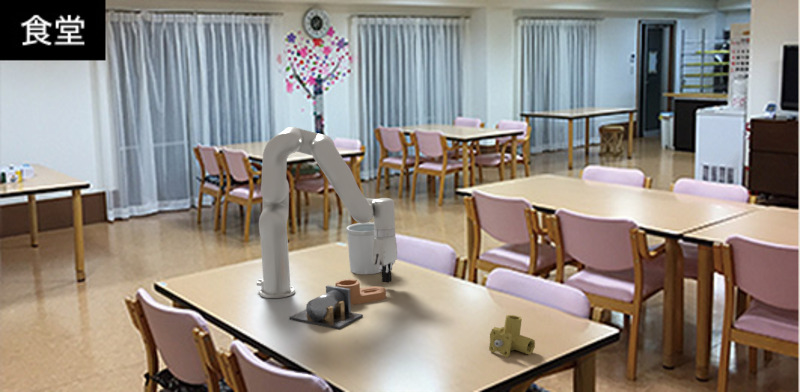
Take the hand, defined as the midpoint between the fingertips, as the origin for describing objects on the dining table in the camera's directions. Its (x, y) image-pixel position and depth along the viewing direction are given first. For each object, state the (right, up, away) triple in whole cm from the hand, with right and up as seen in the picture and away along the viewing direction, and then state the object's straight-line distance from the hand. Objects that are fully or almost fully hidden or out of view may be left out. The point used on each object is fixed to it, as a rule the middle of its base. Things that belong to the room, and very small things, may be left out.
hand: (386, 281), depth 289 cm
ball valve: (+36, -13, -62) cm, 73 cm away
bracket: (-9, -5, -11) cm, 15 cm away
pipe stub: (-19, -9, -30) cm, 36 cm away
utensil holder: (-8, +2, +25) cm, 26 cm away
